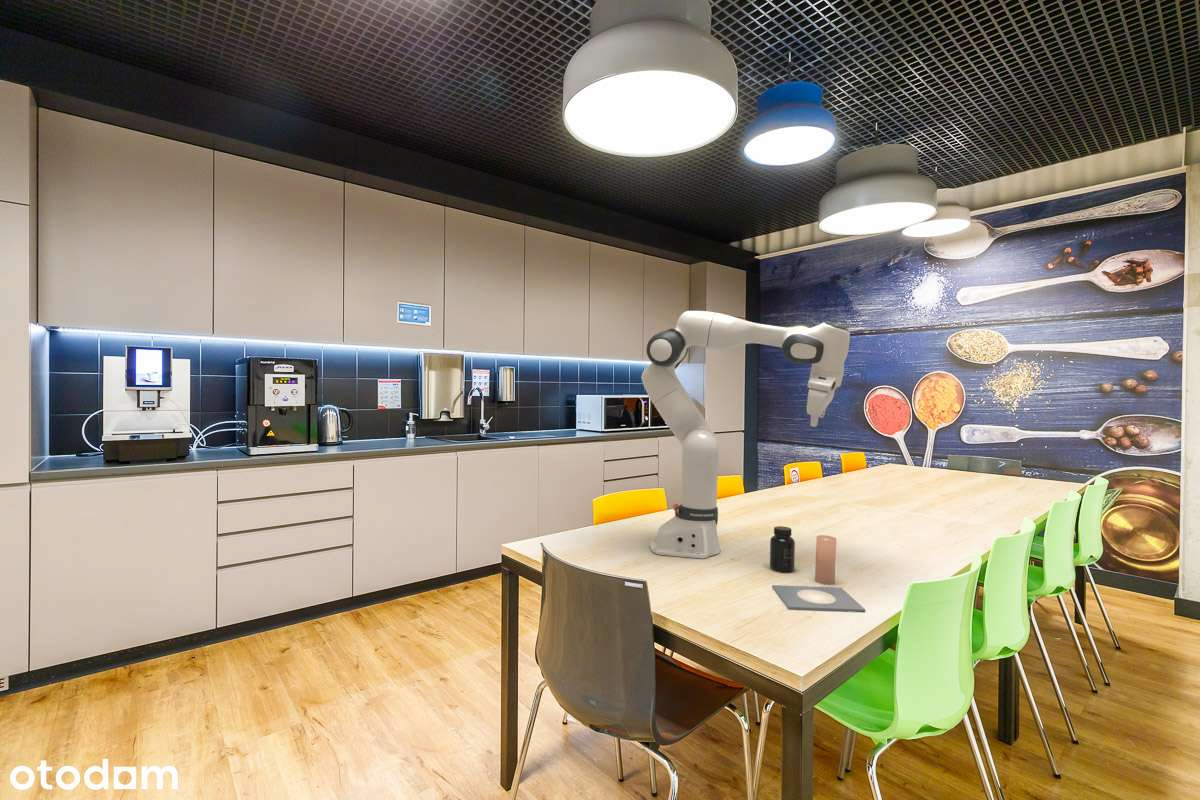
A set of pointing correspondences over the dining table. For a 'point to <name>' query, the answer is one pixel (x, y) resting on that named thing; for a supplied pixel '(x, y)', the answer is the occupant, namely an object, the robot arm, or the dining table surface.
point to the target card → (816, 598)
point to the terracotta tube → (825, 559)
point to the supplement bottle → (782, 550)
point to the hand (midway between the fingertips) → (817, 421)
